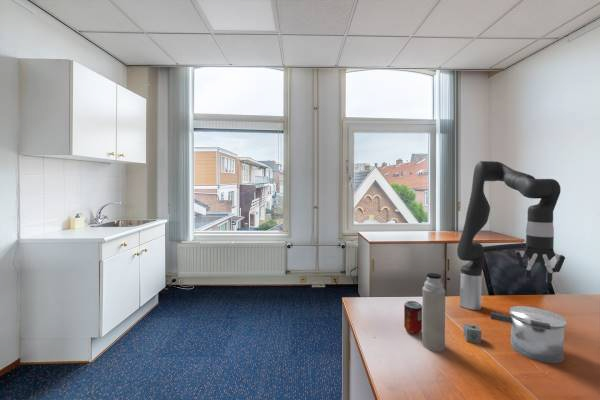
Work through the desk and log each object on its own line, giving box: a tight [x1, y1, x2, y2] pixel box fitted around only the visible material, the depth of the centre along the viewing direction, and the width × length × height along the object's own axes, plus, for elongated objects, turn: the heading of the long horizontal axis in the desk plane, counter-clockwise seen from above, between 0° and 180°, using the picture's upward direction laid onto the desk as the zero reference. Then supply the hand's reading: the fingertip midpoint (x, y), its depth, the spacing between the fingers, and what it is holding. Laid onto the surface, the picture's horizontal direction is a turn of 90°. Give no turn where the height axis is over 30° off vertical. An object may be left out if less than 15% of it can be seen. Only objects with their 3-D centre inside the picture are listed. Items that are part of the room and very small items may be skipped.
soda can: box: [403, 300, 422, 336], centre depth 120 cm, size 7×7×12 cm
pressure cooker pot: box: [490, 311, 565, 364], centre depth 107 cm, size 22×17×12 cm
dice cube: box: [462, 323, 482, 344], centre depth 113 cm, size 5×5×5 cm
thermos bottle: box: [421, 272, 446, 352], centre depth 108 cm, size 8×8×28 cm
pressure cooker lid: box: [509, 305, 567, 330], centre depth 103 cm, size 16×18×2 cm
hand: (538, 281), depth 101 cm, fingers open, 4 cm apart
